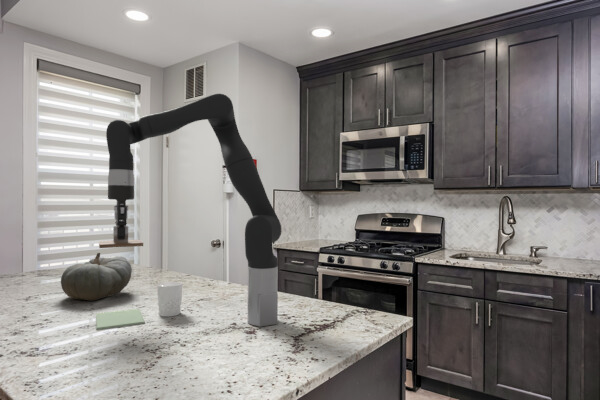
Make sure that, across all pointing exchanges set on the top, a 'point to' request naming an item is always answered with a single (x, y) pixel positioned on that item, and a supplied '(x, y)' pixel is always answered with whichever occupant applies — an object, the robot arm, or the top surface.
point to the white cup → (169, 298)
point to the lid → (120, 241)
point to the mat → (119, 319)
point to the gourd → (96, 278)
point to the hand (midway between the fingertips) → (120, 238)
